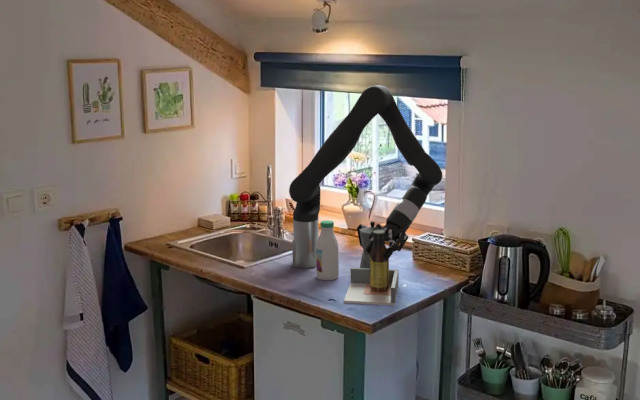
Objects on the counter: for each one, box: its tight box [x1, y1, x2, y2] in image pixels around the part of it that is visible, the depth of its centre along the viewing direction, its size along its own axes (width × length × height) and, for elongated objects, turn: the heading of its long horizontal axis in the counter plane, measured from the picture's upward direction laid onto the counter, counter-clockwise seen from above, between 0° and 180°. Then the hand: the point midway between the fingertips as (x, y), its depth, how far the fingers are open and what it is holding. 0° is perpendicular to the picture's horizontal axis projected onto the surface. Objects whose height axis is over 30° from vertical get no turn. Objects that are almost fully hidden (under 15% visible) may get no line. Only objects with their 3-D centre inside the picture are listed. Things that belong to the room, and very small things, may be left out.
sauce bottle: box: [370, 230, 390, 292], centre depth 237 cm, size 7×6×20 cm
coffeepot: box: [356, 221, 376, 268], centre depth 261 cm, size 15×9×18 cm, turn 34°
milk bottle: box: [315, 219, 340, 281], centre depth 253 cm, size 8×8×20 cm
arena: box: [343, 267, 400, 306], centre depth 237 cm, size 16×18×6 cm
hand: (375, 255), depth 236 cm, fingers open, 8 cm apart
